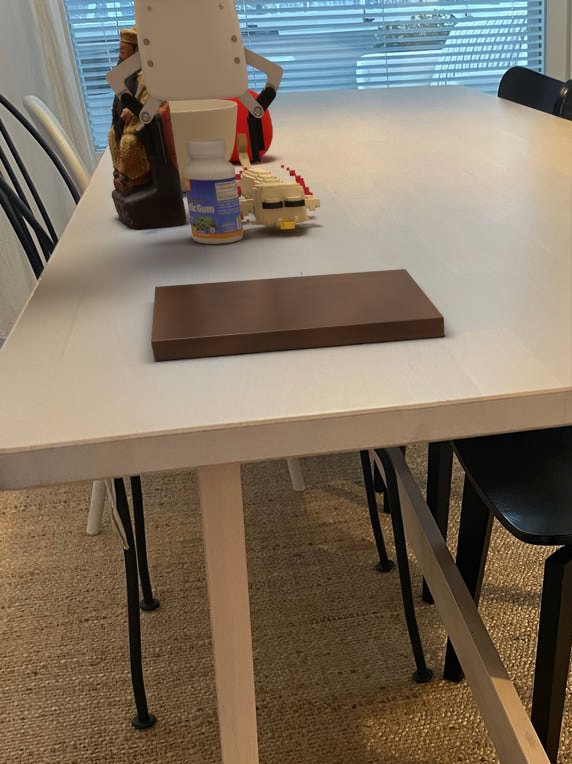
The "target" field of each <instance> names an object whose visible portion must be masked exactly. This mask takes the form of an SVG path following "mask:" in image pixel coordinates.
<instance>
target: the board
mask: <svg viewBox="0 0 572 764" xmlns="http://www.w3.org/2000/svg"><path fill="white" fill-rule="evenodd" d="M152 309H153V310H152V312H153V313H152V322H151V336H150V337H151V338H150V342H151V349H152V353H153V358H154V361H155V362H159V361H170V360H172V361H173V360H183V359H195V358H206V357H218V356H229V355H230V356H231V355H240V354H241V355H242V354H252V353H253V354H254V353H262V352H263V353H264V352H274V351H275V352H276V351H288V350H298V349H299V350H300V349H312V348H324V347H335V346H346V345H356V344H359V345H360V344H369V343H370V344H371V343H381V342H392V341H393V342H394V341H403V340H405V341H406V340H415V339H417V340H418V339H428V338H437V337H438V338H440V337H441V338H442V337H445V317H444V315H443V314H442V313H441V312H440V310H439V309H438V308H437V307H436V305H435V304H434V302H432V301H431V299H430V298H429V296H428V295H427V294H426V293H425V292H424V290H423V289H422V288H421V287H420V285H419V284H418V283H417V282H416V280H415V279H414V278H413V277H412V275H411V274H410V272H408V271H407V269H406V268H401V269H400V268H399V269H398V268H397V269H389V270H388V269H387V270H386V269H385V270H372V271H357V272H345V273H330V274H316V275H314V274H313V275H301V276H288V277H274V278H273V277H272V278H271V277H270V278H261V279H259V278H258V279H244V280H231V281H216V282H204V283H189V284H188V283H187V284H174V285H160V286H155V287H154V297H153V308H152Z"/></svg>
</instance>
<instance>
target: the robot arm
mask: <svg viewBox="0 0 572 764" xmlns="http://www.w3.org/2000/svg"><path fill="white" fill-rule="evenodd" d="M237 11H238V10H237V7H236V1H235V0H133V13H134V24H136V31H137V39H138V47H139V51H138V52H137V53H135V54H134V55H132V56H131V57H129V58H128V59H126V60H125V61H123V62H122V63H121V64H119V65H118V66H115V67H113V68H112V69H111V70H109V71H107V72H106V74H105V80H106V82H107V84H108V86H109V87H110V89H112V91H113V92H114V95H115V94H116V95H117V97H118V98H119V99H120V101H121V103H122V104H123V105H124V106H125V107H126V108H127V109H128V110H130V111H131V112H132V113H133V114H134V115H135V116H137V117H138V118H139V119H140V120H141V121H142V122H143V123H144V127H145V132H146V138H147V143H148V148H149V153H150V157H157V160H158V165H159V167H164V165H166V159H165V153H164V148H163V142H162V137H161V131H160V125H159V121H157V120H156V116H155V113H156V112H157V110H158V108H159V106H160V105H161V103H162V101H185V100H208V99H227V98H236V97H237V98H238V99H239V101H240V102H241V103H242V104H243V105H244V106H245V107H246V108H247V109H248V117H247V125H248V132H249V140H250V147H251V155H252V158H253V160H252V161H255V162H261V157H260V154H259V151H265V143H264V135H263V127H262V119H261V117H262V116H263V114H264V112H265V111H266V110H267V108H268V109H269V107H270V106H271V104H272V103H273V101H275V99H276V97H277V93H278V91H279V87H280V84H281V81H282V78H283V75H284V69H283V67H282V66H281V65H280V64H278V63H276V62H274V61H271V60H269V59H268V58H266V57H264V56H262V55H260V54H258V53H256V52H254V51H253V50H250V49H248V48H247V47H246V46H245V47H244V40H243V36H242V35H243V34H242V30H241V25H240V19H239V15H238V12H237ZM247 65H248V66H251V67H253V68H254V69H256V70H258V71H260V72H262V73H264V74H265V75H266V79H265V80H266V81H265V84H264V87H263V88H262V90H261V91H260V92H259V93H258V94H259V95H258V97H257V98H256V99H255V98H254V97H253V96H252V95H251V94H250V93H249V92H248V89H249V75H248V74H249V73H248V66H247ZM140 68H142V72H143V77H144V82H145V85H146V89H147V91H148V93H149V96H148V98H147V99H146V101H145V103H144V104H143V103H141V102H140V101H139V100H138V99H137V98H136V97H134V96H133V95H132V94H131V93H130V91H129V90H128V88H127V87H126V85H125V83H124V80H125V79H126V78H127V77H129V76H130V75H132V74H133V73H134V72H136V71H137V70H139V69H140Z"/></svg>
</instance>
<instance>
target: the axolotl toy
mask: <svg viewBox="0 0 572 764" xmlns="http://www.w3.org/2000/svg"><path fill="white" fill-rule="evenodd" d="M237 149H238V155H239V158H240V162H239V163H240V164H241V167H242V170H239V171H238V173H236V180H237V189H238V197H239V198H242V197H243V198H244V199H239V206H240V214H241V221H245V217H250V214H254V213H255V220H251V221H250V219H249V218H246V223H250V225H253V226H264V227H267V228H269V227H270V228H271V227H278V229H280V230H293V229H296V225H297V224H303V223H305V222H308V221H310V217H309V216H308V213H307V210H308V211H309V212H316V209H318V208H321V199H320V198H316V197H315V198H314V193H313V192H311V191H310V186H307V185H306V182H305V179H304V177H302V176H301V175H300V174H297V173H296V170H295V169H290V167H286V168H285V165H284V164H280V168H281V169H286V171H288V172H289V176H290V177H294V180H295V181H289V182H288V181H287V182H284V181H282V180H281V178H278V176H277V175H275V174H274V173H272V171H271V170H267V169H264V168H260V167H255V168H252V164H251V161H249V158H248V154H247V138H246V134H237Z"/></svg>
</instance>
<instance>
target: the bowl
mask: <svg viewBox="0 0 572 764" xmlns="http://www.w3.org/2000/svg"><path fill="white" fill-rule="evenodd" d="M168 103H169V108H170V114H171V123H172V129H173V136H174V143H175V150H176V156H177V163H178V168H179V174H180V182H181V190H182V193H186V189H185V183H184V176H183V167H184V166H185V164H187V163H189V162H190V156H188V155H187V154H188V153H187V148H186V140H190V139H196V138H220V139H224V140H225V145H226V150H227V152H226V155H225V160H226V161H228V162H229V160H230V158H231V155H232V152H233V149H234V143H235V134H236V120H237V103H236V102H233V101H228V100H217V99H208V100H185V101H168ZM110 111H111V112H112V106H110Z"/></svg>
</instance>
